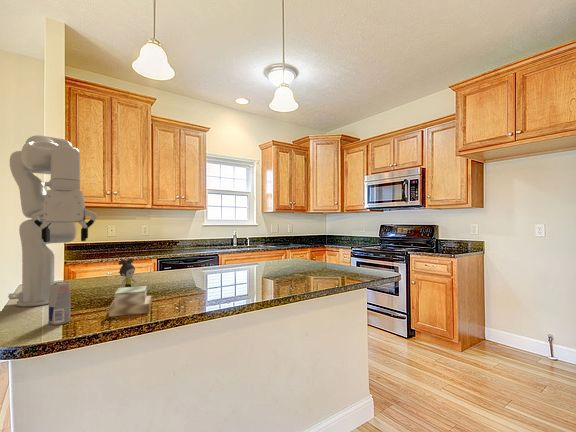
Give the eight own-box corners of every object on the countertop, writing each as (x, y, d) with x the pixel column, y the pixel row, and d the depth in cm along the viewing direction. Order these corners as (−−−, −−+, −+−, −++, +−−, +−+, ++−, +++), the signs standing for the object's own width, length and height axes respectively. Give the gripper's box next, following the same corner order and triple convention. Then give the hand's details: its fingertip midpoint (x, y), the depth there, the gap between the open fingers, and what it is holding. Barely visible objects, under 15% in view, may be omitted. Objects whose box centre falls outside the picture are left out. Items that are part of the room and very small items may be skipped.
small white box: (108, 316, 101) (108, 294, 101) (114, 306, 112) (114, 287, 112) (149, 312, 105) (149, 291, 105) (151, 303, 116) (151, 284, 116)
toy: (125, 298, 124) (125, 260, 124) (113, 297, 125) (113, 260, 125) (139, 293, 132) (139, 258, 132) (128, 292, 133) (128, 257, 134)
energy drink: (56, 319, 98) (56, 281, 98) (74, 319, 98) (74, 281, 98) (44, 325, 92) (44, 285, 93) (63, 325, 93) (63, 284, 93)
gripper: (26, 184, 90) (25, 243, 90) (95, 186, 97) (94, 241, 96) (36, 186, 97) (36, 241, 97) (100, 188, 104) (99, 239, 103)
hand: (65, 241), depth 97 cm, fingers open, 9 cm apart
